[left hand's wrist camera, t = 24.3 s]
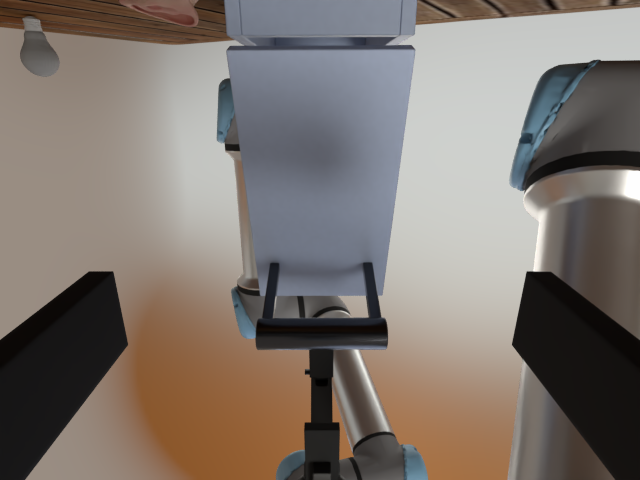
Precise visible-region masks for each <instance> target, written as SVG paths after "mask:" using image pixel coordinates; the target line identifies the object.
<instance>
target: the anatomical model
mask: <svg viewBox="0 0 640 480" xmlns="http://www.w3.org/2000/svg"><path fill="white" fill-rule="evenodd" d="M118 1H119V3H120V4H122V5H124V6H127V7H129V8H132V9H134V10H136V11H139V12H141V13H144V14H146V15H149V16H153V17H156V18H159V19H162V20H165V21H168V22H172V23H175V24H178V25H182V26H188V27H193V26H196V25H197V24H198V14H197V12H196V10H195V8H194V4H195V3H196V2H197V1H198V0H118Z"/></svg>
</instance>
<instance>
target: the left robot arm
mask: <svg viewBox="0 0 640 480" xmlns="http://www.w3.org/2000/svg"><path fill="white" fill-rule="evenodd" d="M509 183H510V185H511V186H512V187H513V188H517V189H518V190H520V191H523V190H525V193H524V201H523V202H524V206H525V209H526V210H527V212H528V213H529V214H530V215H531V216H532V217H533V218H535V219H536V220H537V221H538V222H539V229H538V238H537V246H536V254H535V262H534V270H533V272H527V273H526V278H525V283H524V288H523V293H522V298H521V302H520V307H519V312H518V317H517V322H516V327H515V332H514V337H513V342H512V346H513V347H514V348H515V349H516V351H517V352H518V353H519V355H520V356H521V357H522V367H521V376H520V384H519V392H518V400H517V408H516V416H515V424H514V432H513V440H512V448H511V457H510V465H509V473H508V480H640V60H636V61H601V60H593V61H591V62H589V63H577V64H564V65H558V66H555V67H553V68H551V69H549V70H548V71H546V72H545V73H544V74H543V75H542V76H541V78H540V79H539V81H538V83H537V85H536V88H535V90H534V93H533V96H532V99H531V102H530V105H529V108H528V111H527V115H526V118H525V121H524V125H523V128H522V132H521V138H520V139H519V143H518V147H517V149H516V153H515V157H514V160H513V164H512V169H511V173H510V179H509ZM127 346H128V342H127V337H126V332H125V327H124V322H123V317H122V312H121V308H120V302H119V298H118V293H117V288H116V283H115V278H114V273H113V272H88V273H87V274H85V275H84V276H83V277H81V278H80V279H79V280H77V281H76V282H75V283H74V284H72V285H71V286H70V287H68V288H67V289H66V290H64V291H63V292H62V293H61V294H59V295H58V296H57V297H55V298H54V299H53V300H52V301H50V302H49V303H48V304H46V305H45V306H44V307H42V308H41V309H40V310H39V311H37V312H36V313H35V314H33V315H32V316H31V317H29V318H28V319H27V320H26V321H24V322H23V323H22V324H20V325H19V326H18V327H16V328H15V329H14V330H13V331H11V332H10V333H9V334H7V335H6V336H5V337H3V338H2V339H1V340H0V480H25V479H26V478H27V476H28V475H29V474H30V472H31V471H32V470H33V468H34V467H35V466H36V465H37V463H38V462H39V461H40V459H41V458H42V457H43V455H44V454H45V453H46V452H47V450H48V449H49V448H50V446H51V445H52V444H53V442H54V441H55V440H56V438H57V437H58V436H59V435H60V433H61V432H62V431H63V429H64V428H65V427H66V425H67V424H68V423H69V421H70V420H71V419H72V417H73V416H74V415H75V414H76V412H77V411H78V410H79V408H80V407H81V406H82V404H83V403H84V402H85V401H86V399H87V398H88V397H89V395H90V394H91V393H92V391H93V390H94V389H95V387H96V386H97V385H98V383H99V382H100V381H101V380H102V378H103V377H104V376H105V374H106V373H107V372H108V370H109V369H110V368H111V366H112V365H113V364H114V363H115V361H116V360H117V359H118V357H119V356H120V355H121V353H122V352H123V351H124V349H125V348H126V347H127Z"/></svg>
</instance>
